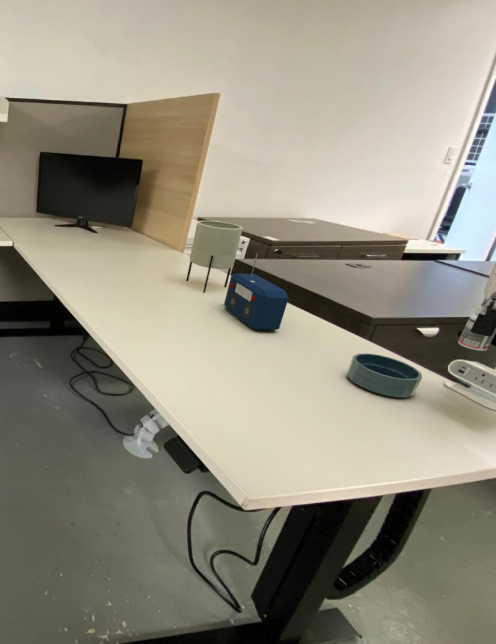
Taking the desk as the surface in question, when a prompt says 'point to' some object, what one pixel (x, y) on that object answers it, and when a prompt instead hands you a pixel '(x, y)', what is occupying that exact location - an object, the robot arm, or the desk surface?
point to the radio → (256, 301)
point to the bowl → (384, 375)
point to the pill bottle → (475, 335)
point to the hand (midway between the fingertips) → (480, 329)
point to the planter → (215, 246)
